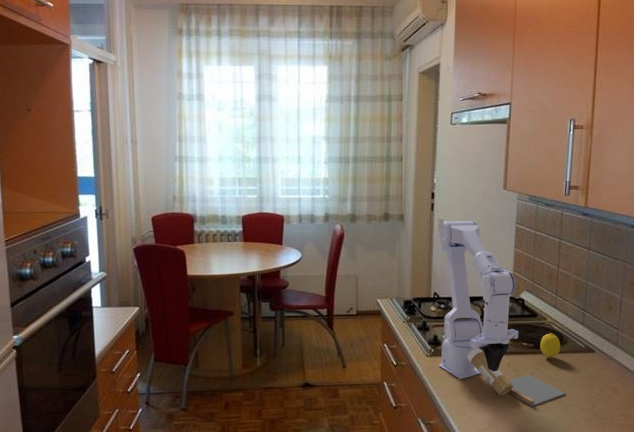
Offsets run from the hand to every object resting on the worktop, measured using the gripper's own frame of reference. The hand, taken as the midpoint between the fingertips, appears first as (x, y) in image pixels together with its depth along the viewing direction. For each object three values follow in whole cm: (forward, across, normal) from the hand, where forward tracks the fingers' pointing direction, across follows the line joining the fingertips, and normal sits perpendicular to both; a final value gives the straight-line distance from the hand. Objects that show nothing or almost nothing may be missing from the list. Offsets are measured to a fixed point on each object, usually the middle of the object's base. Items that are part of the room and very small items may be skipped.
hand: (492, 369), depth 131 cm
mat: (+9, +14, 0) cm, 17 cm away
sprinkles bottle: (+8, +6, 0) cm, 9 cm away
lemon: (+10, +36, +11) cm, 39 cm away
